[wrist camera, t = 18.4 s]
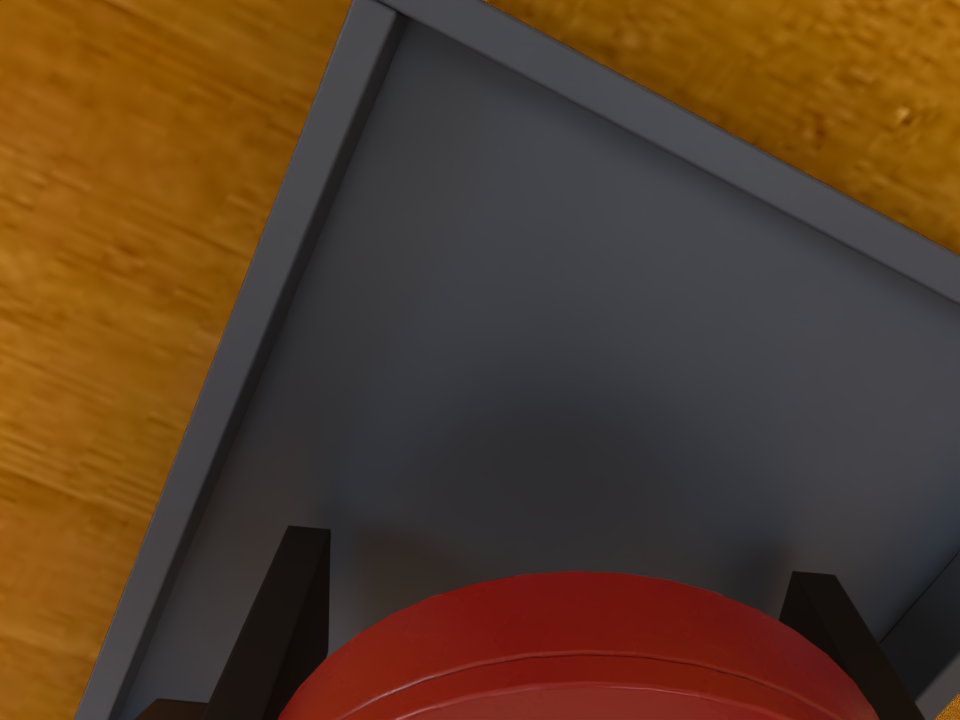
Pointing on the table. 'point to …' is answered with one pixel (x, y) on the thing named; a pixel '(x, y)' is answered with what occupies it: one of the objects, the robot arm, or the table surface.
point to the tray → (554, 366)
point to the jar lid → (578, 658)
